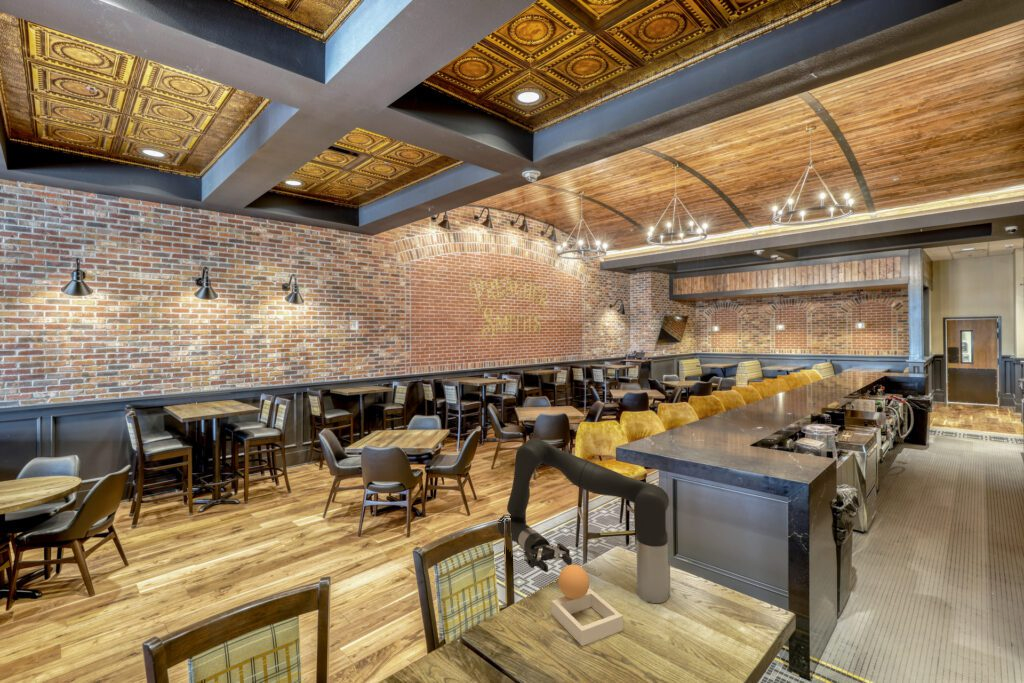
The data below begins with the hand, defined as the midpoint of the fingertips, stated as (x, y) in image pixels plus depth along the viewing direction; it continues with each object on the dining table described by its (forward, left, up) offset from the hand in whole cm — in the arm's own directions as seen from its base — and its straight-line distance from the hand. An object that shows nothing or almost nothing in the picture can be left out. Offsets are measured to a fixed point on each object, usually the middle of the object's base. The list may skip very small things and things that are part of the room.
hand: (559, 565), depth 139 cm
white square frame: (0, +14, -10) cm, 17 cm away
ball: (0, +8, -1) cm, 8 cm away
